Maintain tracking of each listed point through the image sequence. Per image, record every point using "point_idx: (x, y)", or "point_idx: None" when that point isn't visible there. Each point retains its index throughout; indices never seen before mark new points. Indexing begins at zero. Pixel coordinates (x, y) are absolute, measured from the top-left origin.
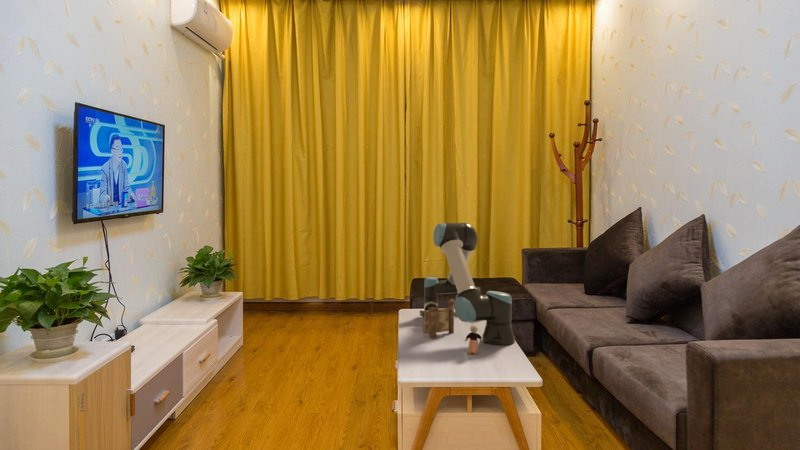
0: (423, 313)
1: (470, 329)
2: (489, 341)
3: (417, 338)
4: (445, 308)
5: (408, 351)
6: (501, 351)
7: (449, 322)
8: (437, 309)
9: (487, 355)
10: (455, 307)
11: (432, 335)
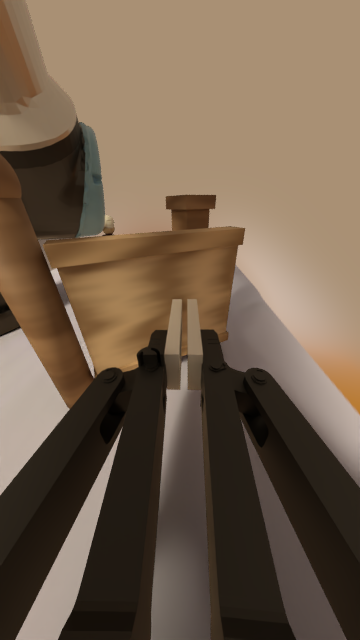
0: (335, 458)
1: (113, 227)
2: None
3: (243, 331)
4: (80, 239)
5: (238, 278)
6: (58, 281)
7: (78, 342)
8: (166, 206)
9: None
10: (101, 182)
11: None
